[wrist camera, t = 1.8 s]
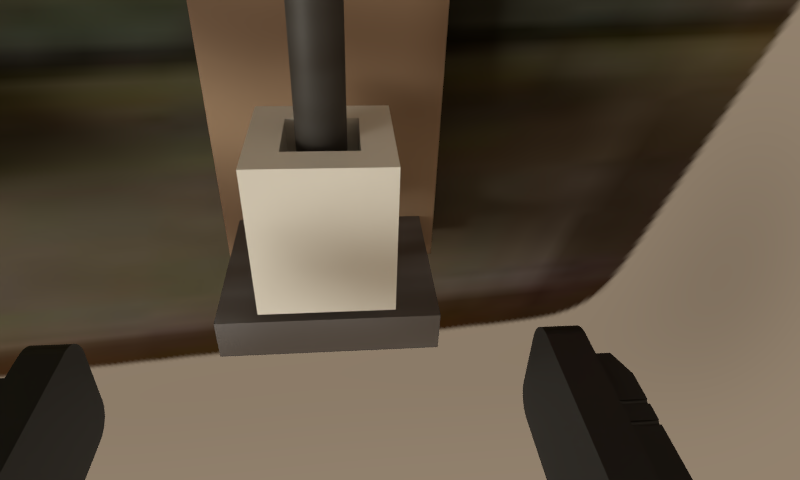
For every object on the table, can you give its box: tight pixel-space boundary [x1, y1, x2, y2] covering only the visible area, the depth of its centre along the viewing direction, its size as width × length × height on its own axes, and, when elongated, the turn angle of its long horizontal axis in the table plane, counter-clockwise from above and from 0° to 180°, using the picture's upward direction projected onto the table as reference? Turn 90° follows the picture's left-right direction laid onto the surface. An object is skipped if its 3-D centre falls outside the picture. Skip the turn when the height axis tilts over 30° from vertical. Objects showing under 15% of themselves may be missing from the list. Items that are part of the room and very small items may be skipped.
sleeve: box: [236, 105, 401, 315], centre depth 15 cm, size 4×3×3 cm
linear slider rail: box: [187, 0, 450, 356], centre depth 14 cm, size 17×7×7 cm, turn 178°
